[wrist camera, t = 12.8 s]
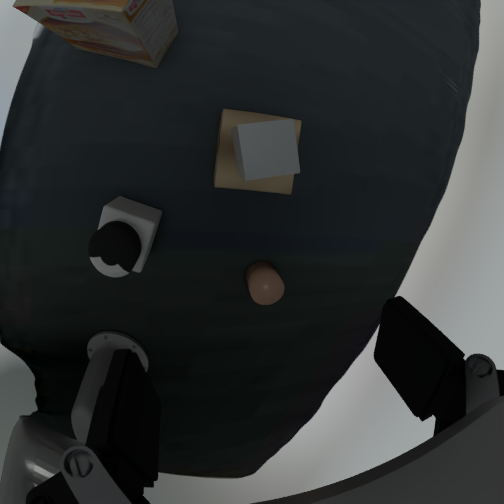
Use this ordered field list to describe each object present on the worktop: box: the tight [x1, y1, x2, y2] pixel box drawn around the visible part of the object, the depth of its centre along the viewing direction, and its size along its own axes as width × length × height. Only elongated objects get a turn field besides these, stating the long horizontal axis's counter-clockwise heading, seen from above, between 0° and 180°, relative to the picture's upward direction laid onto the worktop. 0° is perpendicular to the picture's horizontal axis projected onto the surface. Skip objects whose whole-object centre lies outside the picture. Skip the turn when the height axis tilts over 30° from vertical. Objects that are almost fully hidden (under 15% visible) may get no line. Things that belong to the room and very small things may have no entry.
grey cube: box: [231, 119, 300, 181], centre depth 30 cm, size 6×6×6 cm
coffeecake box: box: [13, 0, 178, 68], centre depth 19 cm, size 15×7×20 cm, turn 64°
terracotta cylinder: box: [246, 261, 284, 305], centre depth 43 cm, size 5×5×5 cm
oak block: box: [213, 109, 301, 194], centre depth 35 cm, size 10×10×5 cm
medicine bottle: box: [89, 196, 162, 277], centre depth 33 cm, size 7×7×12 cm
